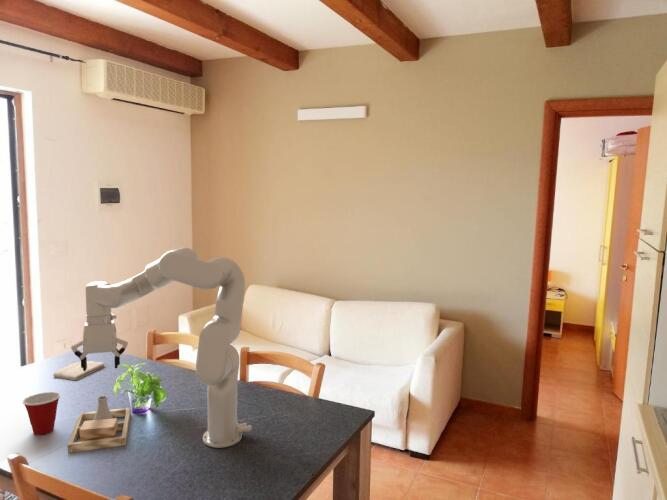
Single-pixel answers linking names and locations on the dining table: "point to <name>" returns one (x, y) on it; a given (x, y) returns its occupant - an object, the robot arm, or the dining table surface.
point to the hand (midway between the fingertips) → (100, 368)
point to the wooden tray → (99, 443)
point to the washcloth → (78, 370)
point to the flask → (102, 409)
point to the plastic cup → (42, 411)
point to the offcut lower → (98, 437)
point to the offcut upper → (98, 428)
